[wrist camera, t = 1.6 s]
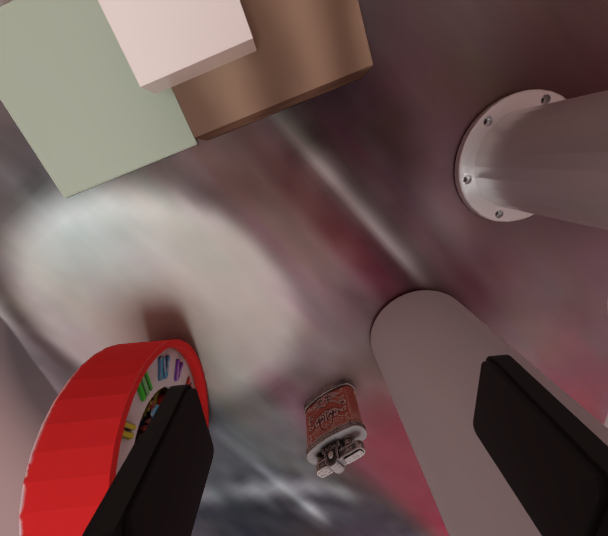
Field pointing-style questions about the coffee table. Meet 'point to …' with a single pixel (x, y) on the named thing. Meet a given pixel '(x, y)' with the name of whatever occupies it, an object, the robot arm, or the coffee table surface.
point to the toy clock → (99, 430)
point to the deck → (279, 64)
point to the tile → (178, 37)
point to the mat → (82, 95)
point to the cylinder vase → (453, 407)
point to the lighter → (334, 428)
